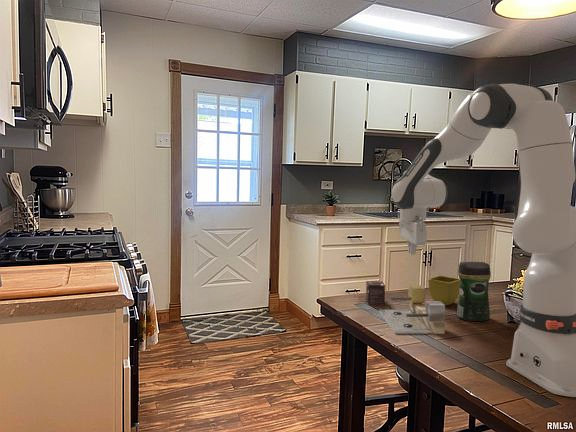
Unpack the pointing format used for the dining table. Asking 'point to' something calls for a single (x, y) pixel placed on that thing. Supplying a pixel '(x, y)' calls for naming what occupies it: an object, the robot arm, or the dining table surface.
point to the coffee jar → (473, 291)
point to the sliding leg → (414, 295)
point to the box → (375, 292)
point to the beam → (430, 315)
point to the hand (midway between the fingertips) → (411, 253)
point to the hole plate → (403, 322)
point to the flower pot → (444, 289)
